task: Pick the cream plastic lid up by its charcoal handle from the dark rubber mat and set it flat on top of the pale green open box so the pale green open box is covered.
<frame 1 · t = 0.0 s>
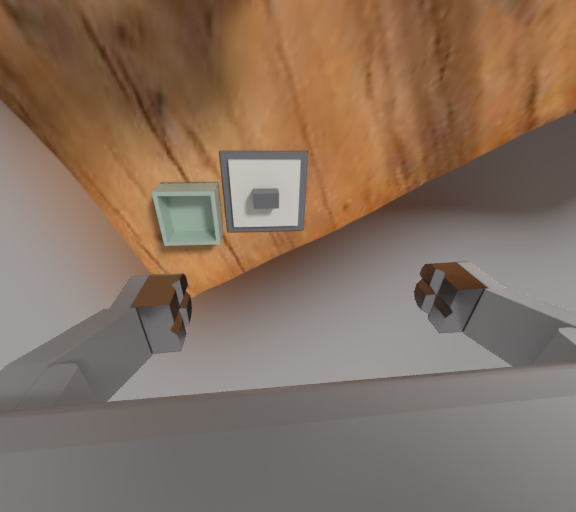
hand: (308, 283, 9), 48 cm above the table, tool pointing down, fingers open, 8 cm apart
mat: (265, 193, 56), on the table
lid: (265, 194, 56), resting on mat
pale green open box: (194, 208, 56), on the table
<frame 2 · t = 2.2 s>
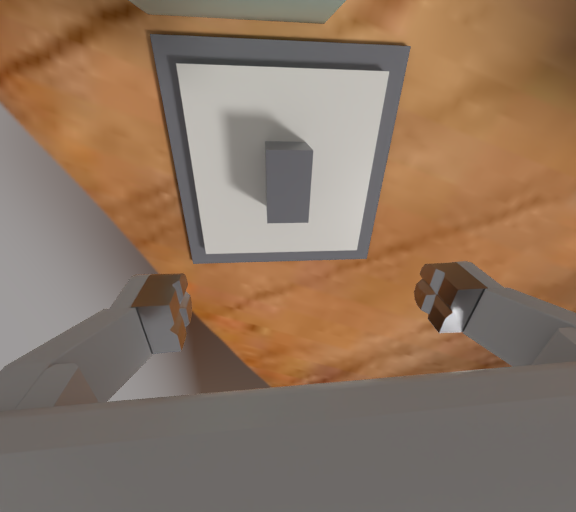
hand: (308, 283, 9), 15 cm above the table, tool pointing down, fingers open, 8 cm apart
mat: (283, 171, 22), on the table
lid: (283, 173, 22), resting on mat
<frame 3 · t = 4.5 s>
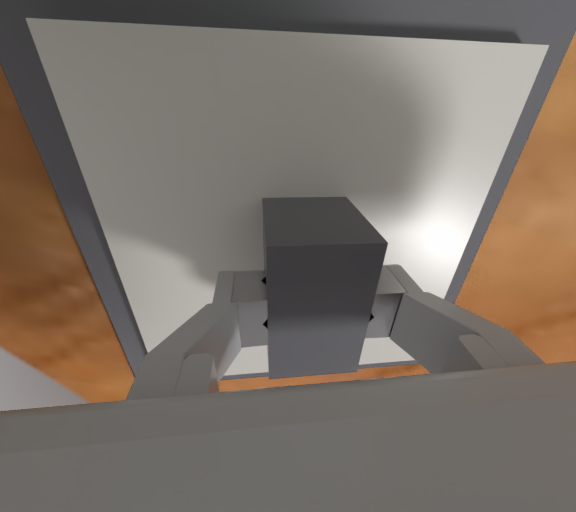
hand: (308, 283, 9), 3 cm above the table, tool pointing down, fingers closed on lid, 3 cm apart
mat: (296, 243, 12), on the table
lid: (298, 248, 11), resting on mat, touching gripper
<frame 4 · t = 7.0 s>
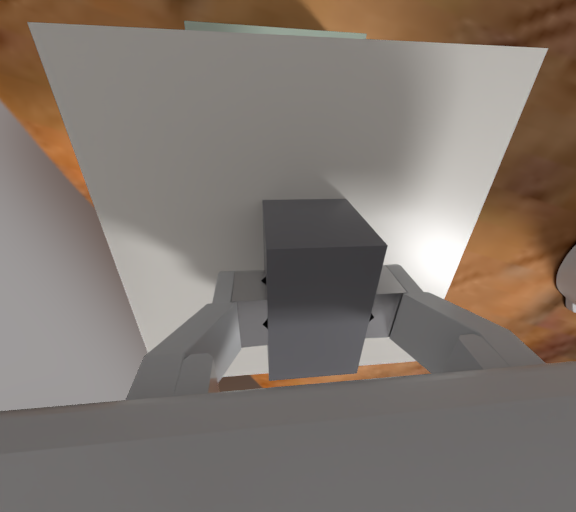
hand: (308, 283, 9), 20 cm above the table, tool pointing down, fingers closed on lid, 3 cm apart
lid: (298, 249, 11), point 17 cm above the table, touching gripper
pale green open box: (272, 120, 24), on the table
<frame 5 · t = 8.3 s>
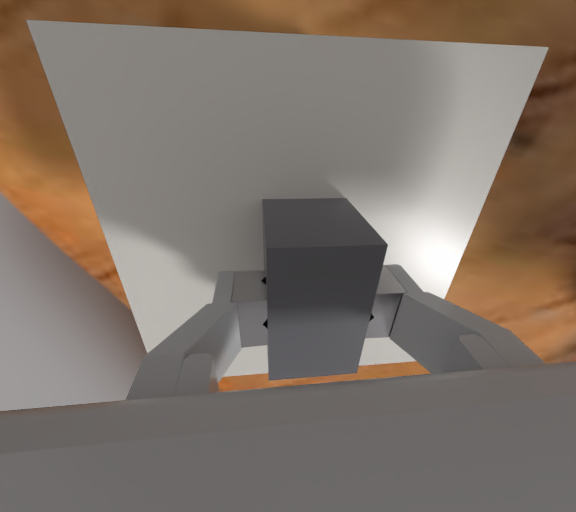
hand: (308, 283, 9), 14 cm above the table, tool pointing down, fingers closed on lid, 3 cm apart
lid: (298, 249, 11), point 12 cm above the table, touching gripper
when the fingers open (10 cm above the table, at t = 9.6 s): lid drops 2 cm, resting on pale green open box.
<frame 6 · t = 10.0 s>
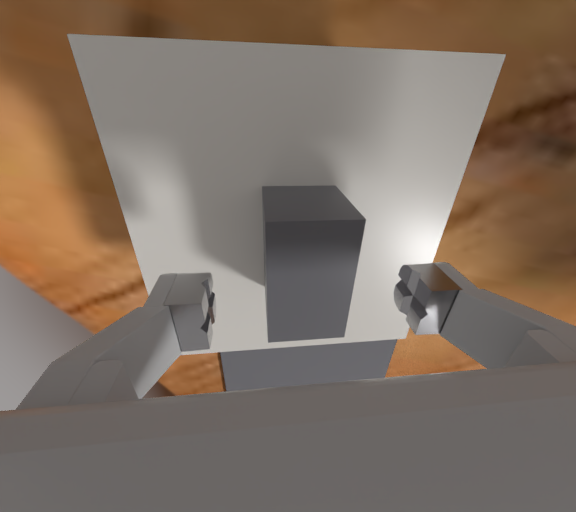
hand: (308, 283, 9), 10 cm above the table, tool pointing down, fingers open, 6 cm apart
mat: (310, 344, 26), on the table
lid: (294, 233, 13), point 6 cm above the table, touching pale green open box
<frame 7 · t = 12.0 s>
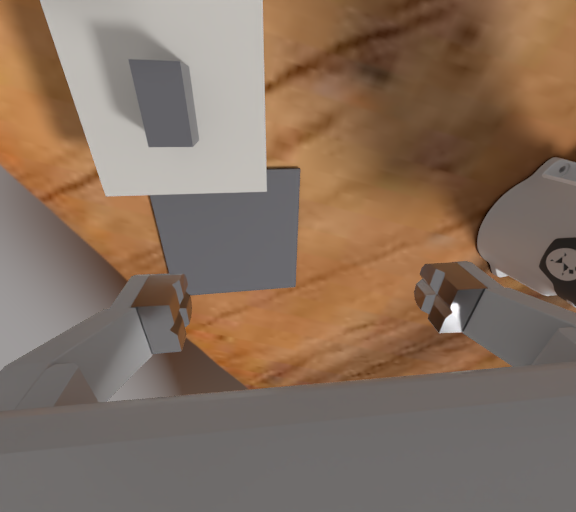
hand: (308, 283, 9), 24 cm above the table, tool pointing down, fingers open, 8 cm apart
mat: (232, 237, 34), on the table
lid: (176, 104, 21), point 6 cm above the table, touching pale green open box
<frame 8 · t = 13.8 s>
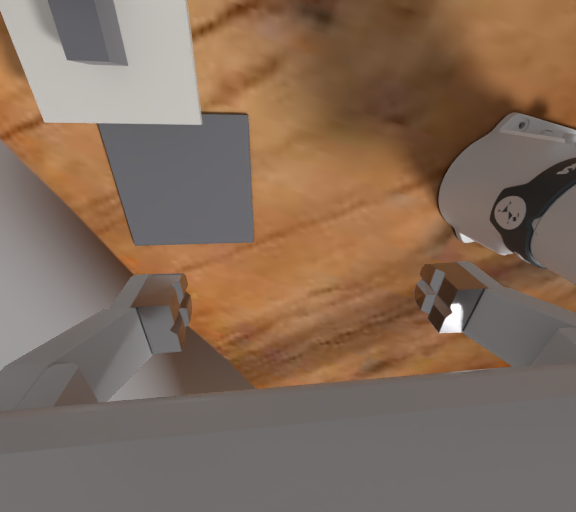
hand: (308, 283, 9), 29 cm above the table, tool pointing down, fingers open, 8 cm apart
mat: (186, 185, 36), on the table
lid: (104, 29, 22), point 6 cm above the table, touching pale green open box
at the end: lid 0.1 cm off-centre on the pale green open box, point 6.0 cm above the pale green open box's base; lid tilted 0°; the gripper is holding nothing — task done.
